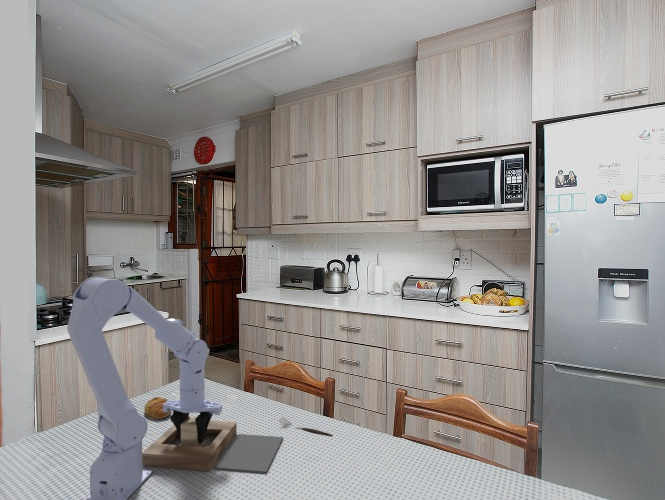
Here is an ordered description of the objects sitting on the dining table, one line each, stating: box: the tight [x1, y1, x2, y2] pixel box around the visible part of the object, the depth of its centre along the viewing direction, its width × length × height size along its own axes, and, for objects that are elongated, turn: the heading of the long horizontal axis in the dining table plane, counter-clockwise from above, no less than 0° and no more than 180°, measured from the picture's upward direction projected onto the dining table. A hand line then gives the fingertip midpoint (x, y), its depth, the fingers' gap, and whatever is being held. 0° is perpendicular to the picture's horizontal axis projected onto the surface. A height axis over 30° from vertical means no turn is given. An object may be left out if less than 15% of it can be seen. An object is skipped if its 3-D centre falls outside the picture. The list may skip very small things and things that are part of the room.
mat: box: [214, 433, 284, 474], centre depth 86 cm, size 14×12×1 cm
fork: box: [278, 416, 333, 437], centre depth 97 cm, size 3×16×2 cm, turn 66°
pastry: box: [143, 396, 172, 420], centre depth 107 cm, size 9×7×4 cm
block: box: [180, 415, 206, 447], centre depth 88 cm, size 4×4×7 cm
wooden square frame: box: [142, 420, 238, 472], centre depth 88 cm, size 16×16×3 cm
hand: (192, 440), depth 88 cm, fingers closed on block, 4 cm apart
